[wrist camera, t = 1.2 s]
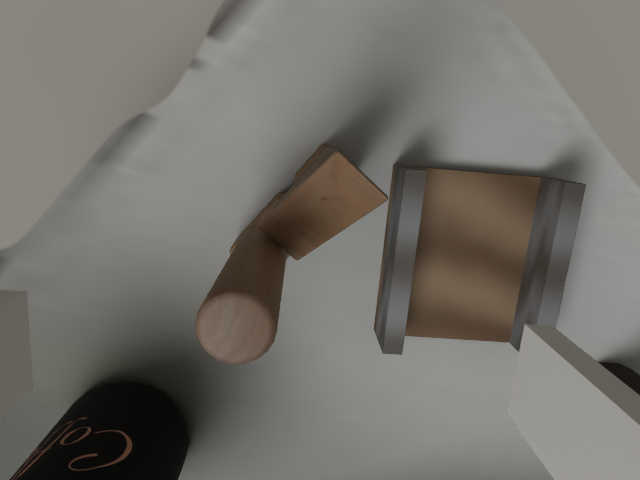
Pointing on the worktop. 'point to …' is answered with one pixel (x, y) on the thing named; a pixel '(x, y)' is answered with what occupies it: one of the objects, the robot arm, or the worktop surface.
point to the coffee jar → (113, 438)
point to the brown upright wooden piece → (280, 253)
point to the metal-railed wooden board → (473, 254)
